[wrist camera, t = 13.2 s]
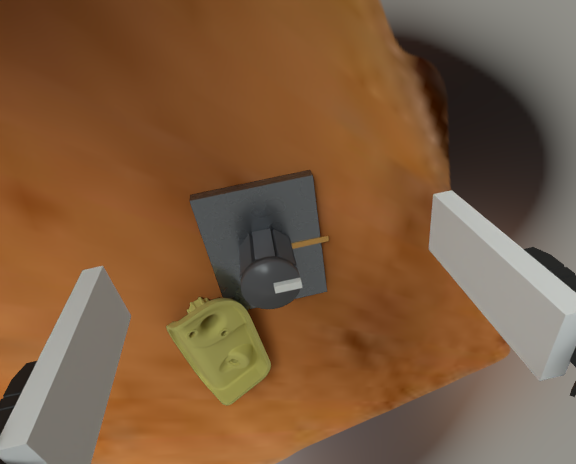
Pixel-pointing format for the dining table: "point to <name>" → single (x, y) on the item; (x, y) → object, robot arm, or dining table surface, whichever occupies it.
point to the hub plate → (262, 227)
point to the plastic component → (221, 347)
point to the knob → (268, 269)
